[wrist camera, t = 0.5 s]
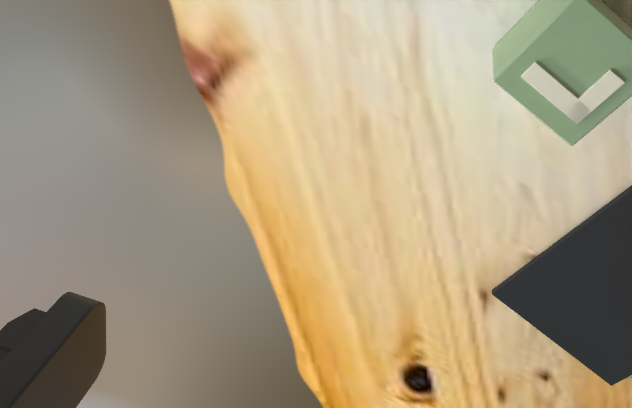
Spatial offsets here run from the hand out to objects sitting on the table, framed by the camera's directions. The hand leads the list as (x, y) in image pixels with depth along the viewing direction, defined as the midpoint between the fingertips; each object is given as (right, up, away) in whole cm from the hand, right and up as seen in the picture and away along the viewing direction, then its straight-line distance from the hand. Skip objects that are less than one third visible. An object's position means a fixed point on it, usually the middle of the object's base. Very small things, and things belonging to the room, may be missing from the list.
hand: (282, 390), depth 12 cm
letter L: (+12, +11, +16) cm, 23 cm away
